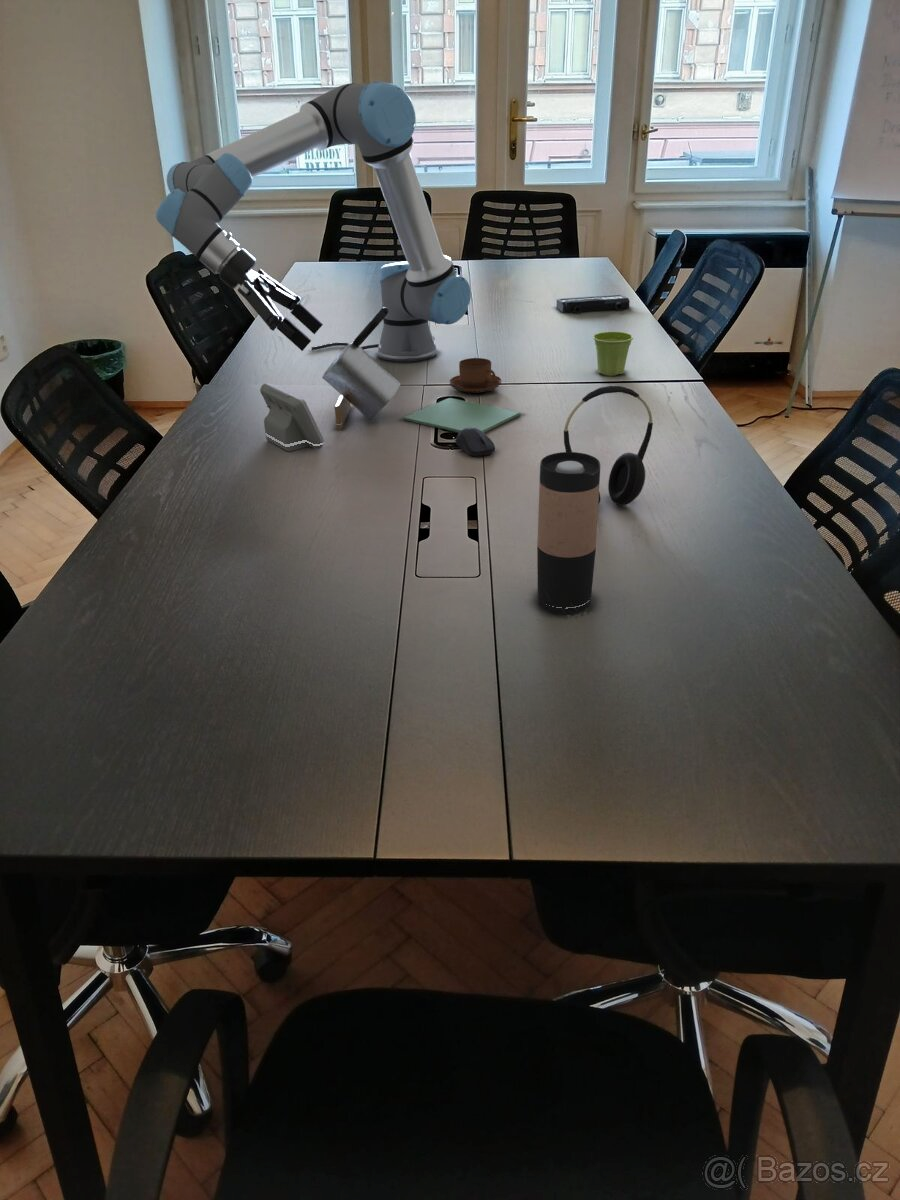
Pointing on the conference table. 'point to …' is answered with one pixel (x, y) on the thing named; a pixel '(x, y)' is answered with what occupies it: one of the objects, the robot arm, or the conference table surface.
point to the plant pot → (612, 351)
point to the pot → (362, 374)
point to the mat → (461, 415)
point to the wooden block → (341, 411)
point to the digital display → (592, 303)
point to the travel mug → (567, 530)
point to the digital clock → (289, 419)
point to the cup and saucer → (475, 376)
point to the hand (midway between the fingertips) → (313, 337)
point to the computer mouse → (474, 442)
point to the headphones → (629, 466)
